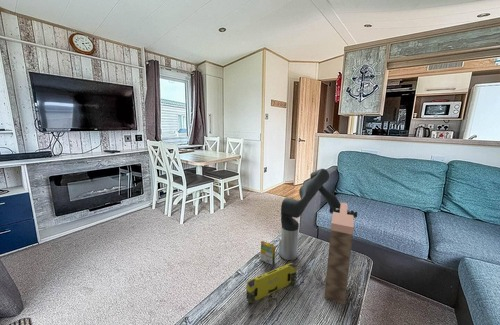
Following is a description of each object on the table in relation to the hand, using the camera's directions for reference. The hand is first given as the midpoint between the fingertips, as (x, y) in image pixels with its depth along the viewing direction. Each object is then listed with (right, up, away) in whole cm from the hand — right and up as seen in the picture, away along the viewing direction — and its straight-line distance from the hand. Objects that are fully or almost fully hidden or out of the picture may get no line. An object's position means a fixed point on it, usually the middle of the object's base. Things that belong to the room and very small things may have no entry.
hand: (343, 210), depth 113 cm
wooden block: (-12, -32, -19) cm, 39 cm away
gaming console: (-41, -32, -20) cm, 55 cm away
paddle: (-10, +1, -21) cm, 23 cm away
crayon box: (-41, -28, +1) cm, 49 cm away
